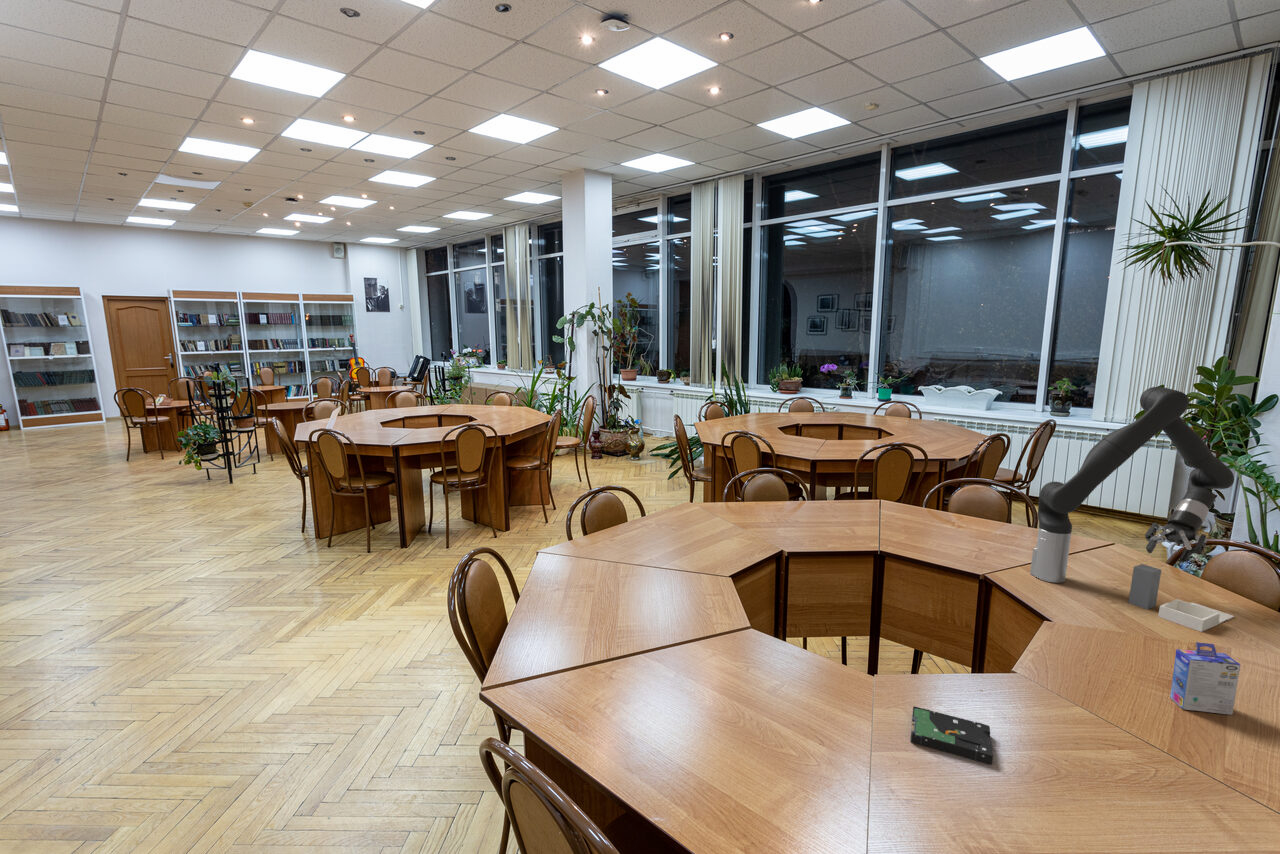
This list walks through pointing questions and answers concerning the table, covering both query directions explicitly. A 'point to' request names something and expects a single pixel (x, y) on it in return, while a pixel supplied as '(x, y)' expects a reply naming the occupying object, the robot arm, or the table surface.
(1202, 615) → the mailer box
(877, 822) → the table surface
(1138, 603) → the charcoal carton
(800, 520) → the table surface
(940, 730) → the disk drive
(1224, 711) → the ink cartridge box
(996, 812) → the table surface
